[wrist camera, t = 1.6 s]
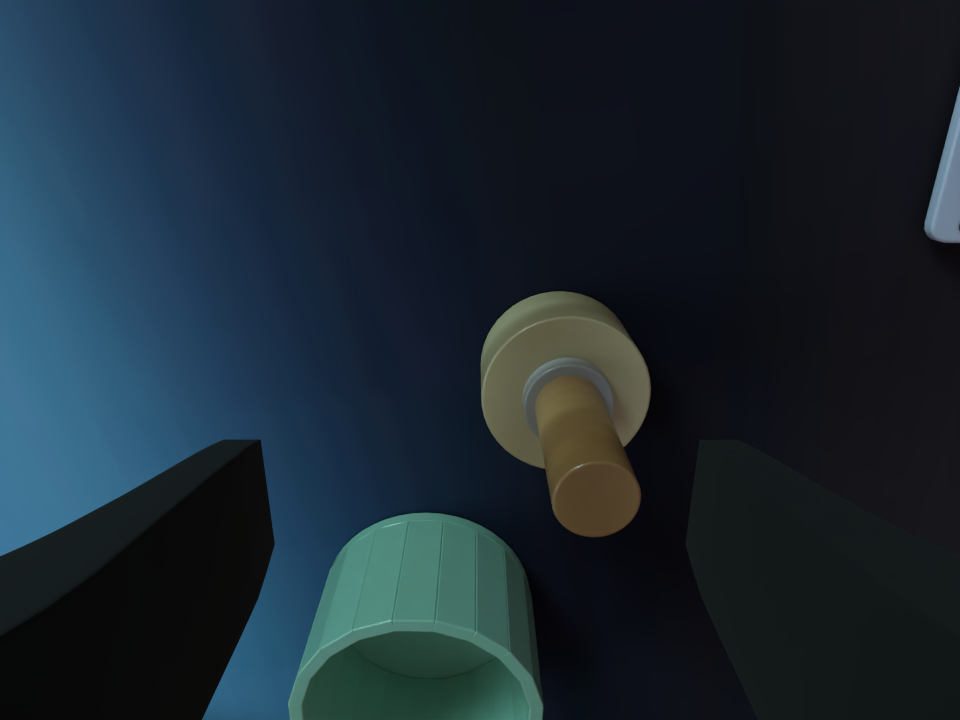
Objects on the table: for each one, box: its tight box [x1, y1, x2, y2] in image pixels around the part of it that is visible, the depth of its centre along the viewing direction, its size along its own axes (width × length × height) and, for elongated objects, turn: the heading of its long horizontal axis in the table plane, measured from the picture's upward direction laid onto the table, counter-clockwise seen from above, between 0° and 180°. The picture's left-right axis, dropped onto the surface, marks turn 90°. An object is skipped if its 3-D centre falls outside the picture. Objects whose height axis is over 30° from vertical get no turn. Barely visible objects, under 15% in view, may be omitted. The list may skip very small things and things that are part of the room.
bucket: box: [288, 513, 543, 720], centre depth 21 cm, size 7×7×5 cm
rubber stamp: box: [481, 291, 651, 537], centre depth 17 cm, size 5×5×8 cm
